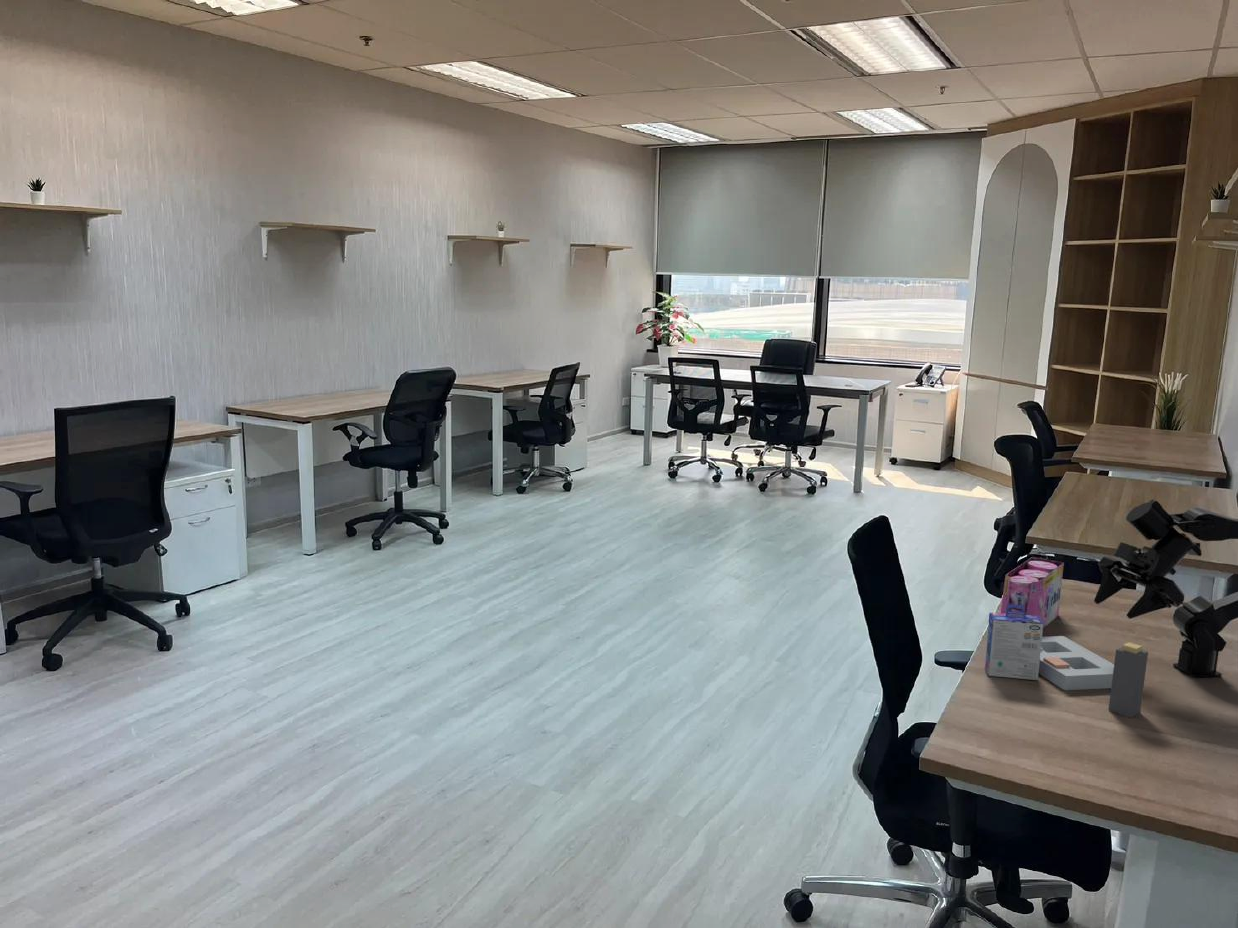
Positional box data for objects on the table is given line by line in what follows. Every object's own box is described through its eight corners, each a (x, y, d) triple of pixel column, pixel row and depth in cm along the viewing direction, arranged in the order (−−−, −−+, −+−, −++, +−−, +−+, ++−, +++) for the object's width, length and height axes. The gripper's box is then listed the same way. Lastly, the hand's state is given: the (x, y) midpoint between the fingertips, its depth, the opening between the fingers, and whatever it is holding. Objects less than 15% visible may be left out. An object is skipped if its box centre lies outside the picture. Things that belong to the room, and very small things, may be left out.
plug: (1118, 704, 177) (1126, 640, 175) (1140, 712, 174) (1148, 646, 172) (1108, 709, 175) (1116, 644, 173) (1130, 717, 172) (1139, 651, 169)
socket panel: (1061, 648, 206) (1063, 633, 205) (1127, 687, 186) (1129, 670, 185) (1004, 651, 204) (1005, 635, 203) (1064, 690, 183) (1066, 673, 183)
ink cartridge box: (1032, 671, 193) (1040, 604, 190) (1039, 681, 187) (1046, 613, 185) (982, 666, 195) (989, 600, 192) (987, 676, 189) (994, 608, 187)
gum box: (1031, 640, 211) (1037, 583, 209) (995, 632, 216) (1001, 576, 213) (1059, 615, 229) (1065, 562, 227) (1025, 608, 234) (1031, 556, 232)
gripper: (1110, 519, 198) (1059, 571, 198) (1179, 541, 180) (1124, 598, 180) (1137, 553, 201) (1087, 604, 201) (1208, 578, 183) (1154, 635, 183)
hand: (1111, 609), depth 191 cm, fingers open, 9 cm apart
